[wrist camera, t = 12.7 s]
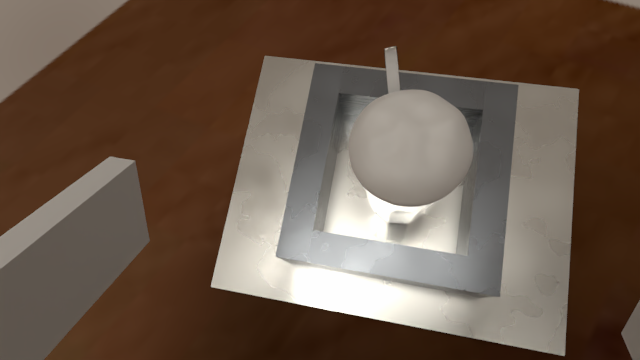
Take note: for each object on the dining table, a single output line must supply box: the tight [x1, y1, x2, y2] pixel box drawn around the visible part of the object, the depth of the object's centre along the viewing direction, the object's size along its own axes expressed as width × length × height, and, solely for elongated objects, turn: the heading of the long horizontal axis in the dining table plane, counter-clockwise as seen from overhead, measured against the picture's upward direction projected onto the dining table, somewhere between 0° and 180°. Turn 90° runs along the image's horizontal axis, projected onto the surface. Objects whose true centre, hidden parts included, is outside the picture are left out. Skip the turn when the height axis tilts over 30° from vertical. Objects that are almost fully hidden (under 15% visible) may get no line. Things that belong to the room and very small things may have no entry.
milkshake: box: [348, 46, 473, 224], centre depth 20 cm, size 4×5×10 cm
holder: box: [211, 56, 579, 356], centre depth 24 cm, size 18×14×5 cm
